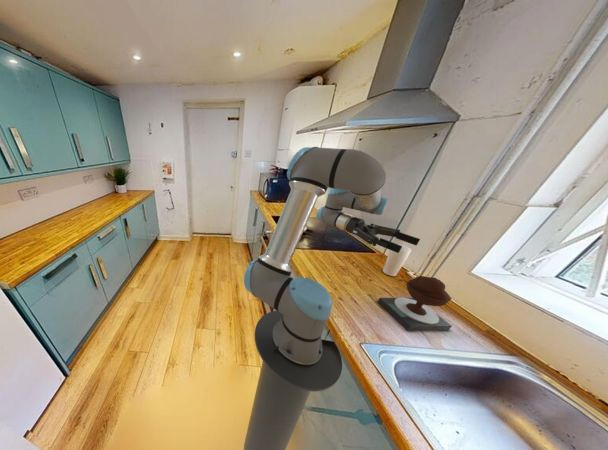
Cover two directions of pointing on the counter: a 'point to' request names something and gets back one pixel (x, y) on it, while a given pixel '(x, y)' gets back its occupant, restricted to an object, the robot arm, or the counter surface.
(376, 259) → the counter surface
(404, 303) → the kitchen scale
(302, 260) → the counter surface
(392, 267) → the drinking glass
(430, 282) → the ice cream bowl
